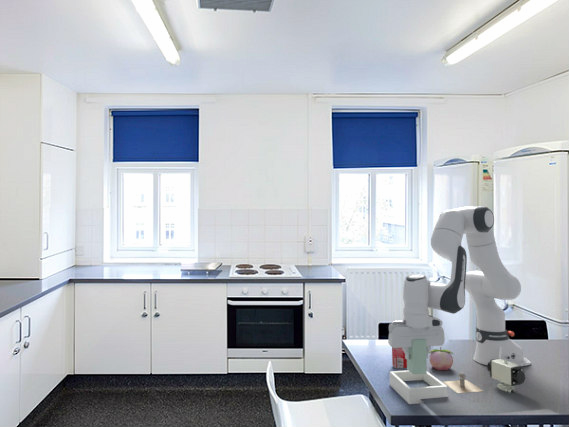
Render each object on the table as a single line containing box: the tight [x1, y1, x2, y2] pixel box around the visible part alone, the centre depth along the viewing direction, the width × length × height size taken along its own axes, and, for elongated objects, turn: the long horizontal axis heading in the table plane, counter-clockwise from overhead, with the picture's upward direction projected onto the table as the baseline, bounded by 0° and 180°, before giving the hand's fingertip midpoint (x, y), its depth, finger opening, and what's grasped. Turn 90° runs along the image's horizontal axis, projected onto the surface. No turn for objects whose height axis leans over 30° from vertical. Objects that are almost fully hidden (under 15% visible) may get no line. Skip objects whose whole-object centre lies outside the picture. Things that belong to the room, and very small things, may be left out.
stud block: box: [442, 372, 484, 394], centre depth 144 cm, size 10×10×6 cm
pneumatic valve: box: [486, 358, 526, 394], centre depth 141 cm, size 6×12×12 cm, turn 24°
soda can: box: [391, 347, 407, 370], centre depth 167 cm, size 7×7×13 cm
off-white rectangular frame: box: [389, 370, 449, 405], centre depth 143 cm, size 14×16×5 cm
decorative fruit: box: [428, 346, 454, 371], centre depth 162 cm, size 9×8×10 cm
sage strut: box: [406, 339, 428, 374], centre depth 143 cm, size 5×5×12 cm
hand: (416, 358), depth 143 cm, fingers closed on sage strut, 5 cm apart
